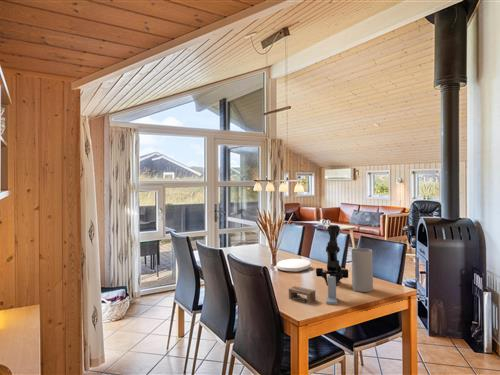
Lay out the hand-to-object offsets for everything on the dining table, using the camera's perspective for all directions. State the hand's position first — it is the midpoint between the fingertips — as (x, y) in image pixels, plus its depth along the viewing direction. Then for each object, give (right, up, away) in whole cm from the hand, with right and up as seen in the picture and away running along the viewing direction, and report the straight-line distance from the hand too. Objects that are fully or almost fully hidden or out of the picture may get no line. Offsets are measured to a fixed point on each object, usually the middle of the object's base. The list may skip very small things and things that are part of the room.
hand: (331, 285), depth 196 cm
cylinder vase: (+24, -8, +17) cm, 30 cm away
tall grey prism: (0, -8, -2) cm, 8 cm away
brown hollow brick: (-17, -8, +3) cm, 19 cm away
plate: (-13, -8, +74) cm, 75 cm away
